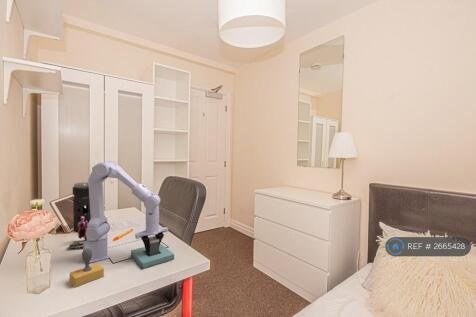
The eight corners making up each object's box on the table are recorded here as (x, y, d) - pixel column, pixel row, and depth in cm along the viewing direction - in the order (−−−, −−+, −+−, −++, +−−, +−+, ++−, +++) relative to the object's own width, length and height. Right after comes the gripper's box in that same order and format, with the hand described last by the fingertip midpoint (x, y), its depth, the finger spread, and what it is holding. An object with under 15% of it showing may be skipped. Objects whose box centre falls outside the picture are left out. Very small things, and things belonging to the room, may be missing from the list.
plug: (150, 257, 106) (150, 241, 106) (145, 253, 110) (145, 238, 110) (158, 254, 109) (159, 239, 109) (154, 250, 113) (154, 236, 112)
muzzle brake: (69, 230, 141) (77, 234, 135) (69, 183, 140) (76, 185, 134) (87, 225, 149) (94, 229, 143) (86, 181, 148) (94, 183, 142)
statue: (74, 244, 125) (74, 215, 125) (94, 242, 127) (94, 214, 128) (66, 251, 114) (66, 219, 115) (88, 248, 117) (88, 217, 118)
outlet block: (143, 269, 99) (143, 263, 99) (130, 255, 111) (130, 250, 111) (174, 259, 108) (174, 254, 108) (159, 247, 120) (159, 242, 120)
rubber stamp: (98, 271, 97) (98, 242, 96) (104, 276, 93) (103, 246, 92) (69, 281, 89) (69, 250, 89) (74, 288, 85) (74, 255, 85)
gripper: (139, 226, 101) (139, 258, 102) (171, 220, 111) (170, 249, 111) (133, 222, 106) (133, 252, 107) (164, 216, 116) (164, 244, 117)
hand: (152, 250), depth 110 cm, fingers closed on plug, 4 cm apart
